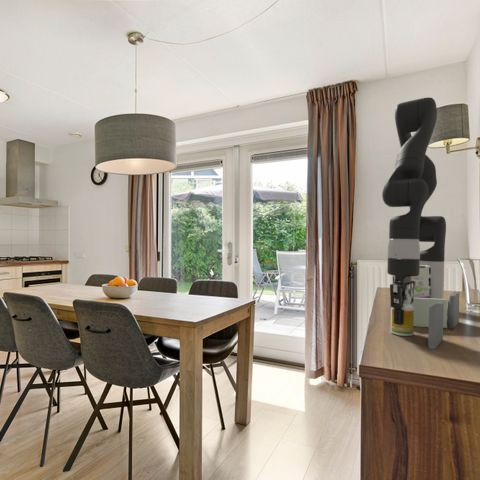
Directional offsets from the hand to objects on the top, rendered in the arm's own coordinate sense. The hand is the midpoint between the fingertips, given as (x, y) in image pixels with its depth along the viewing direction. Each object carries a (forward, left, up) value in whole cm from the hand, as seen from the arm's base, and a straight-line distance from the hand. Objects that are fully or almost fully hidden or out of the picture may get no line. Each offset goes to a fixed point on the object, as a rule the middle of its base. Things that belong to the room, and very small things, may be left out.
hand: (402, 321), depth 91 cm
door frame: (-9, +8, -3) cm, 13 cm away
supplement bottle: (0, 0, -3) cm, 3 cm away
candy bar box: (-27, -4, -3) cm, 28 cm away
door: (-12, +2, -3) cm, 13 cm away
